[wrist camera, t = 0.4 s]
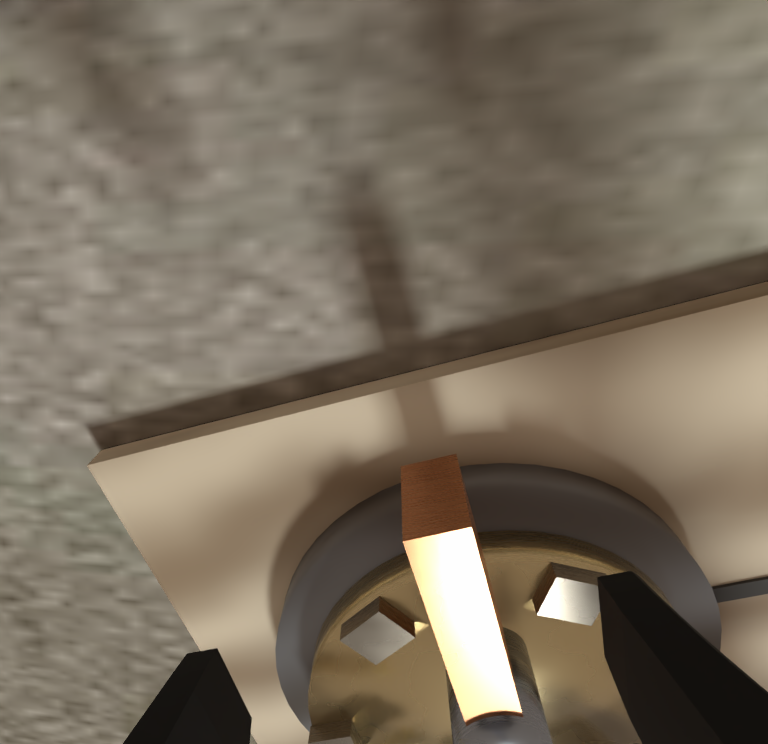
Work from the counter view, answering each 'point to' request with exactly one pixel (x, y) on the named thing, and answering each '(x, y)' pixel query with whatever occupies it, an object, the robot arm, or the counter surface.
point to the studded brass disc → (469, 635)
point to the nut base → (479, 412)
